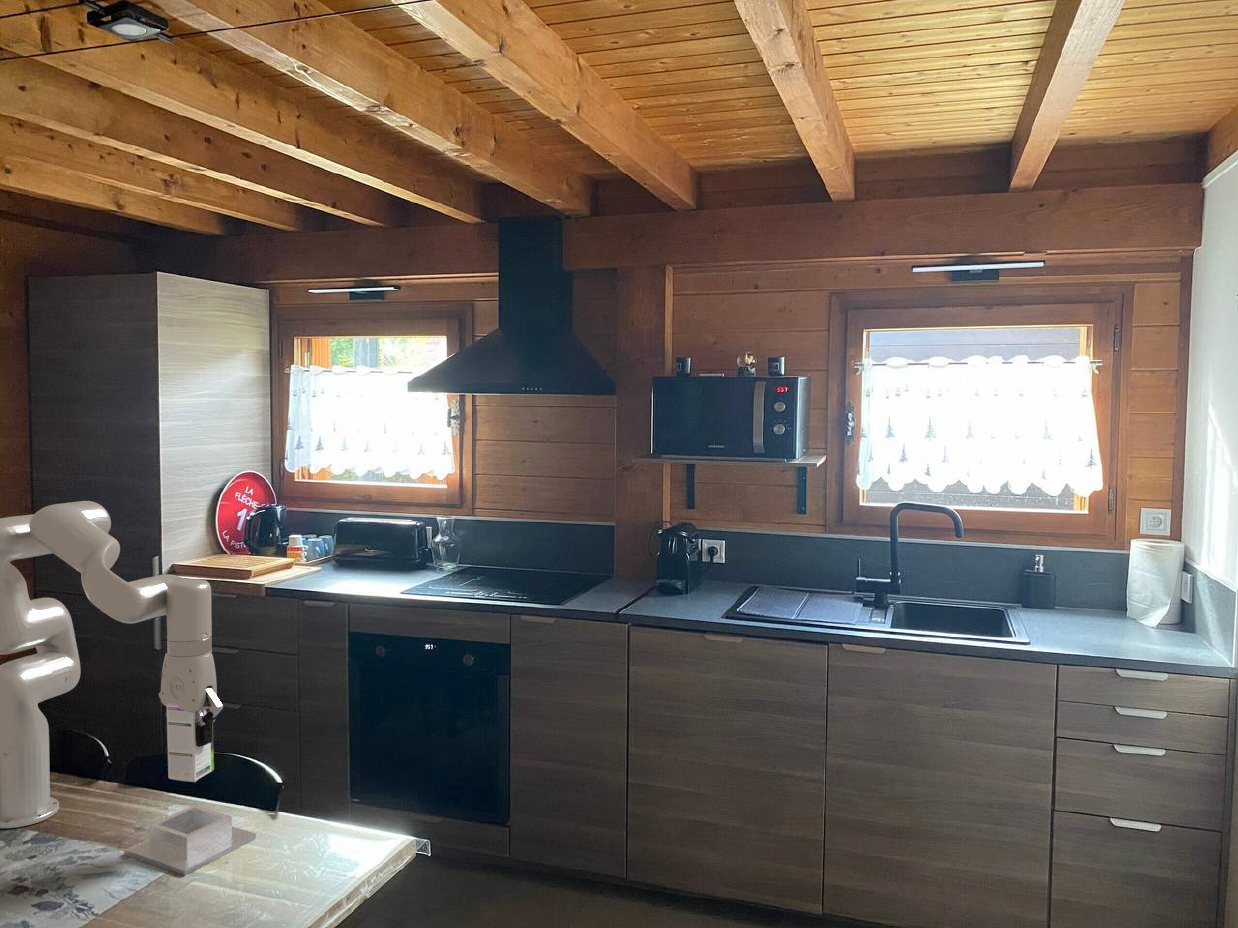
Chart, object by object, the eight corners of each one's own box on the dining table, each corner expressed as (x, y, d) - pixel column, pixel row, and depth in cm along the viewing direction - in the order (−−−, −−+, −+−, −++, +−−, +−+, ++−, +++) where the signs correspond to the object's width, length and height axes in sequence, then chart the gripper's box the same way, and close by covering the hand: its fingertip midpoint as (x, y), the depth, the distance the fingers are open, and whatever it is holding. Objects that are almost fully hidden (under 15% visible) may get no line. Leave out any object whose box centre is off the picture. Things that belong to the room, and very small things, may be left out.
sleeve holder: (124, 854, 172) (123, 828, 172) (197, 820, 187) (197, 796, 186) (184, 875, 165) (184, 848, 165) (255, 838, 180) (255, 813, 179)
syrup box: (195, 782, 172) (194, 705, 171) (166, 779, 173) (166, 702, 172) (214, 770, 177) (214, 695, 176) (186, 767, 178) (186, 693, 177)
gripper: (140, 644, 174) (141, 738, 175) (205, 658, 166) (206, 756, 167) (175, 636, 181) (176, 726, 182) (239, 648, 173) (240, 742, 174)
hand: (190, 739), depth 175 cm, fingers closed on syrup box, 6 cm apart
